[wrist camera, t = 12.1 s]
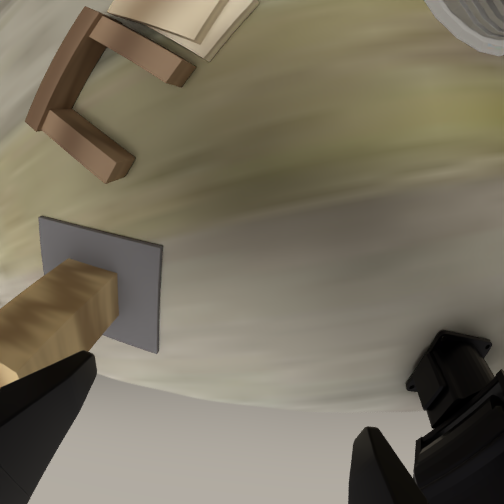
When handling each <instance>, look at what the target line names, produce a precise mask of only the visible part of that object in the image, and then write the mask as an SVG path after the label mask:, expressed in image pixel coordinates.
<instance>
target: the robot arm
mask: <svg viewBox="0 0 504 504" xmlns="http://www.w3.org/2000/svg"><path fill="white" fill-rule="evenodd" d="M443 336H444V337H443ZM442 337H443V338H442ZM491 346H492V343H491V341H490V340H488V339H483V338H478V337H473V336H468V335H463V334H458V333H453V332H448V331H441V332H440V333H438V335H437V336H436V338H435V340H434V341H433V343H432V345H431V346H430V348H429V350H428V351H427V353H426V354H425V356H424V358H423V359H422V361H421V362H420V364H419V365H418V367H417V368H416V370H415V371H414V373H413V374H412V376H411V377H410V379H409V380H408V382H407V383H406V389H407V390H408V391H414V392H418V394H419V397H420V401H421V404H422V407H423V410H426V411H427V414H428V417H429V420H430V423H431V427H432V428H433V430H432V431H431V432H429V433H428V434H427V435H425V436H424V437H421V438H419V439H418V440H416V449H415V464H414V475H413V478H412V477H411V475H410V474H409V472H408V471H407V469H406V468H405V466H404V465H403V463H402V462H401V461H400V459H399V458H398V456H397V455H396V453H395V452H394V451H393V449H392V447H391V446H390V445H389V443H388V442H387V440H386V439H385V437H384V436H383V435H382V433H381V432H380V430H379V429H378V428H376V427H365V428H364V429H363V430H362V432H361V433H360V434H359V435H358V437H357V438H356V439H355V441H354V444H353V451H352V460H351V469H350V477H349V496H348V497H349V498H348V499H349V501H348V504H504V371H503V370H502V369H501V370H500V371H499V372H498V373H497V374H496V376H495V377H494V375H493V373H492V372H491V370H490V368H489V366H488V365H487V363H486V361H485V360H484V357H485V356H486V354H487V353H488V351H489V350H490V348H491ZM96 374H97V368H96V361H95V356H94V354H92V353H90V352H88V351H85V350H82V351H79V352H77V353H75V354H73V355H71V356H69V357H66V358H64V359H62V360H60V361H58V362H56V363H53V364H51V365H49V366H47V367H45V368H42V369H40V370H38V371H36V372H34V373H31V374H29V375H27V376H25V377H22V378H20V379H18V380H16V381H14V382H11V383H9V384H7V385H5V386H2V387H1V388H0V504H27V503H28V501H29V499H30V497H31V495H32V493H33V492H34V490H35V488H36V486H37V484H38V482H39V481H40V479H41V477H42V475H43V473H44V471H45V470H46V468H47V466H48V464H49V463H50V461H51V459H52V457H53V456H54V454H55V452H56V450H57V449H58V447H59V445H60V444H61V442H62V440H63V438H64V437H65V435H66V433H67V432H68V430H69V428H70V427H71V425H72V423H73V422H74V420H75V419H76V417H77V415H78V413H79V412H80V410H81V407H82V405H83V403H84V401H85V399H86V397H87V394H88V392H89V390H90V388H91V386H92V384H93V382H94V380H95V377H96ZM411 385H412V386H411Z"/></svg>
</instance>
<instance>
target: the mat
mask: <svg viewBox="0 0 504 504" xmlns="http://www.w3.org/2000/svg"><path fill="white" fill-rule="evenodd" d="M39 232H40V244H41V254H42V262H43V270H44V275H46V274H47V273H48V272H50V271H51V270H53V269H54V268H55V267H57V266H58V265H60V264H61V263H63V262H64V261H65V260H67V259H68V258H70V259H73V260H76V261H79V262H82V263H85V264H88V265H92V266H95V267H98V268H101V269H105V270H108V271H111V272H115V273H117V280H118V306H119V316H118V317H117V318H116V319H115V320H114V321H113V323H112V324H111V325H110V326H109V327H108V328H107V330H106V331H105V332H104V333H103V334H102V335H104V336H107V337H109V338H112V339H115V340H117V341H120V342H123V343H126V344H129V345H131V346H134V347H137V348H140V349H143V350H146V351H149V352H152V353H155V354H157V353H158V351H159V304H160V280H161V262H162V247H163V246H160V245H156V244H152V243H148V242H144V241H140V240H135V239H131V238H127V237H123V236H119V235H115V234H111V233H107V232H103V231H99V230H95V229H91V228H87V227H83V226H79V225H75V224H71V223H67V222H63V221H60V220H56V219H52V218H48V217H44V216H40V217H39Z"/></svg>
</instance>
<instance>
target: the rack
mask: <svg viewBox="0 0 504 504" xmlns="http://www.w3.org/2000/svg"><path fill="white" fill-rule="evenodd" d="M258 5H259V3H258V0H114V1H113V2H112V4H111V6H110V7H109V9H108V11H107V12H108V13H110V14H112V15H114V16H117V17H120V18H124V19H127V20H131V21H134V22H138V23H141V24H144V25H146V26H148V27H149V28H151V29H153V30H155V31H157V32H159V33H161V34H162V35H164V36H166V37H168V38H170V39H171V40H173V41H175V42H177V43H178V44H180V45H182V46H183V47H185V48H187V49H189V50H190V51H192V52H194V53H195V54H197V55H198V56H200V57H202V58H203V59H205V60H207V61H208V62H210V61H211V59H212V58H213V57H214V56H215V54H216V53H217V52H218V51H219V49H220V48H221V47H222V46H223V44H224V43H225V42H226V41H227V40H228V38H229V37H230V36H231V35H232V34H233V33H234V31H235V30H236V29H237V28H238V27H239V26H240V24H241V23H242V22H243V21H244V20H245V19H246V18H247V17H248V16H249V14H250V13H251V12H252V11H253V10H254V9H255V8H256V7H257V6H258ZM106 47H108V48H110V49H112V50H113V51H115V52H117V53H118V54H120V55H122V56H124V57H125V58H127V59H128V60H130V61H132V62H133V63H135V64H137V65H138V66H140V67H142V68H143V69H145V70H146V71H148V72H150V73H151V74H153V75H154V76H156V77H157V78H159V79H160V80H162V81H164V82H165V83H168V84H171V85H175V86H179V87H182V86H183V84H184V83H185V82H186V80H187V79H188V78H189V76H190V75H191V73H192V72H193V71H194V69H195V68H196V67H195V66H194V65H192V64H191V63H189V62H187V61H186V60H184V59H183V58H181V57H179V56H178V55H176V54H174V53H173V52H171V51H169V50H168V49H166V48H164V47H162V46H161V45H159V44H157V43H155V42H154V41H152V40H150V39H148V38H146V37H145V36H143V35H141V34H139V33H137V32H135V31H134V30H132V29H130V28H128V27H126V26H124V25H122V23H121V22H119V21H117V20H115V19H113V18H111V17H109V16H107V15H105V14H102V13H100V12H98V11H95V10H93V9H90V8H88V7H86V6H85V7H84V8H83V10H82V11H81V13H80V14H79V16H78V17H77V19H76V21H75V22H74V24H73V25H72V27H71V29H70V30H69V32H68V33H67V35H66V37H65V39H64V40H63V42H62V44H61V46H60V47H59V49H58V51H57V53H56V55H55V56H54V58H53V60H52V62H51V64H50V66H49V68H48V70H47V72H46V74H45V76H44V78H43V80H42V82H41V84H40V87H39V89H38V91H37V93H36V96H35V98H34V100H33V102H32V105H31V107H30V110H29V112H28V115H27V117H26V120H25V122H26V123H27V124H28V125H29V126H30V127H32V128H33V129H34V130H35V131H36V132H37V131H43V132H45V133H46V134H47V135H48V136H49V137H50V138H51V139H53V140H54V141H55V142H56V143H57V144H58V145H60V146H61V147H62V148H63V149H64V150H65V151H67V152H68V153H69V154H70V155H71V156H73V157H74V158H75V159H76V160H77V161H78V162H80V163H81V164H82V165H83V166H84V167H86V168H87V169H88V170H89V171H90V172H92V173H93V174H94V175H95V176H96V177H98V178H99V179H100V180H101V181H102V182H104V183H105V184H107V183H109V182H112V181H115V180H118V179H120V178H123V177H125V176H126V174H127V172H128V170H129V169H130V167H131V165H132V163H133V162H134V160H135V157H134V156H133V155H131V154H130V153H129V152H127V151H126V150H125V149H124V148H122V147H121V146H120V145H118V144H117V143H116V142H114V141H113V140H112V139H110V138H109V137H108V136H107V135H105V134H104V133H103V132H101V131H100V130H99V129H97V128H96V127H95V126H94V125H92V124H91V123H90V122H88V121H87V120H86V119H84V118H83V117H82V116H80V115H79V114H78V113H77V112H75V111H74V110H73V109H72V107H73V105H74V103H75V101H76V99H77V97H78V95H79V93H80V92H81V90H82V88H83V86H84V84H85V82H86V81H87V79H88V77H89V75H90V73H91V72H92V70H93V68H94V67H95V65H96V63H97V62H98V60H99V58H100V57H101V55H102V53H103V52H104V50H105V49H106Z"/></svg>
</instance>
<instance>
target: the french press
mask: <svg viewBox="0 0 504 504" xmlns="http://www.w3.org/2000/svg"><path fill="white" fill-rule="evenodd" d="M424 1H425V3H426V4H427V6H428V7H429V9H430V10H431V12H432V13H433V15H434V16H435V18H436V19H437V20H439V21H440V22H441V23H442V24H443V25H444V26H445V27H446V28H447V29H448V30H449V31H450V32H451V33H452V34H453V35H454V36H455V37H456V38H457V39H459V40H461V41H463V42H464V43H466V44H468V45H469V46H471V47H473V48H474V49H476V50H477V51H479V52H483V53H488V54H492V55H496V56H502V55H504V0H424Z"/></svg>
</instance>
